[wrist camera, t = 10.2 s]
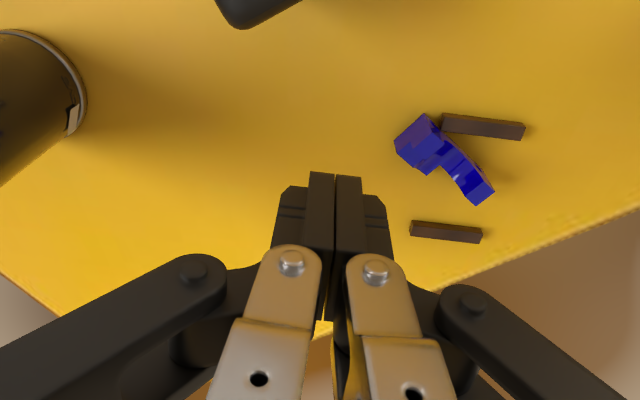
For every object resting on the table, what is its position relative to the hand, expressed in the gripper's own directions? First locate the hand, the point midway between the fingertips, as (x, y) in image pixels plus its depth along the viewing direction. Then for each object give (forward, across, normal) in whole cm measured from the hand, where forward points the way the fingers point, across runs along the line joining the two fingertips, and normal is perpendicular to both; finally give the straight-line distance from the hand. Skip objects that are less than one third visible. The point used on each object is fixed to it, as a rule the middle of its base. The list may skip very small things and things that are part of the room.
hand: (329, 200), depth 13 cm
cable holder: (+25, -11, +10) cm, 29 cm away
